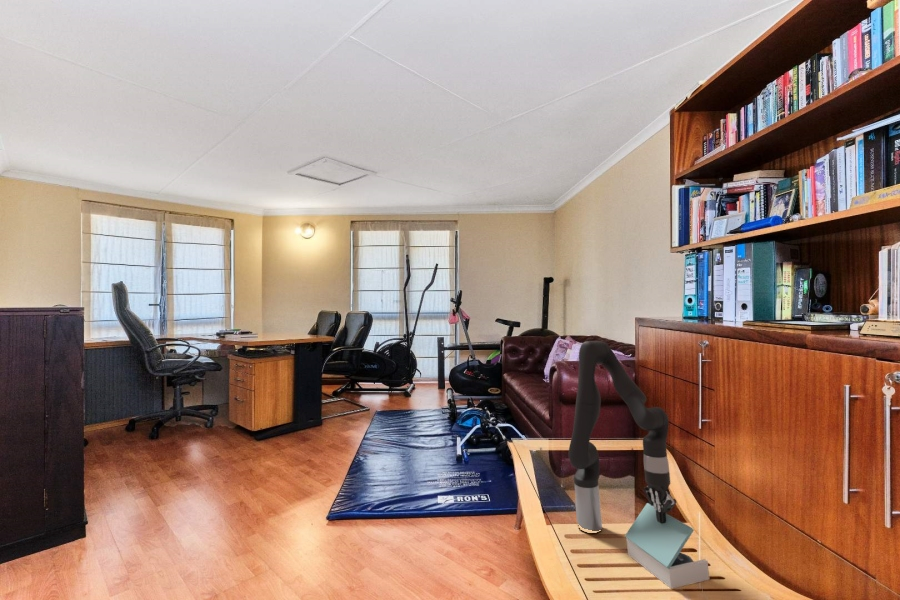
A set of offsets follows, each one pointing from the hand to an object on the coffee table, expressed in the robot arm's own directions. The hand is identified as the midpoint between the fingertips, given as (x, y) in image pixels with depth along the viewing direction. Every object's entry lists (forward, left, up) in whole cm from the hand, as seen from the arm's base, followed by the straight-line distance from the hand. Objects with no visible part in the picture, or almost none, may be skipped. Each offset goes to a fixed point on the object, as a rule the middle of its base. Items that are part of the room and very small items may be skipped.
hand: (661, 522), depth 131 cm
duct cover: (0, -2, -4) cm, 4 cm away
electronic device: (0, +2, -15) cm, 15 cm away
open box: (0, 0, -14) cm, 14 cm away
